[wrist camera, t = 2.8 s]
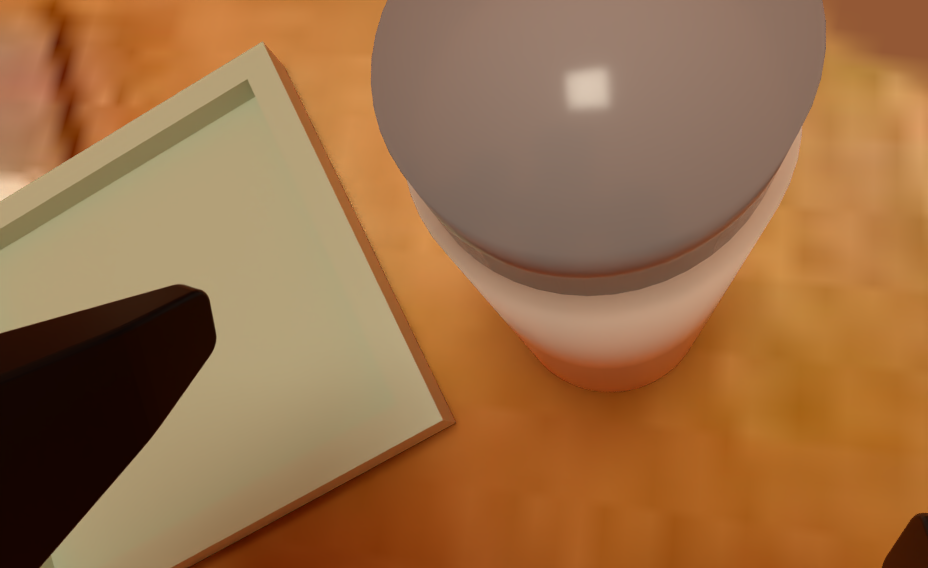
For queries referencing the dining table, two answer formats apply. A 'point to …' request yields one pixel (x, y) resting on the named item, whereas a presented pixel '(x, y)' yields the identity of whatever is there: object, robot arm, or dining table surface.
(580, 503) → the dining table surface
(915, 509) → the dining table surface
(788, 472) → the dining table surface
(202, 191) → the tray
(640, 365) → the salt shaker
